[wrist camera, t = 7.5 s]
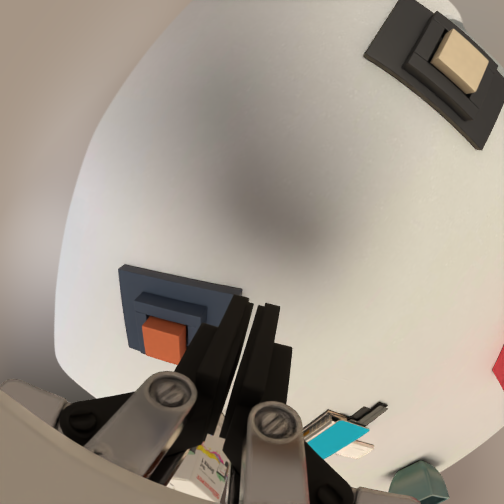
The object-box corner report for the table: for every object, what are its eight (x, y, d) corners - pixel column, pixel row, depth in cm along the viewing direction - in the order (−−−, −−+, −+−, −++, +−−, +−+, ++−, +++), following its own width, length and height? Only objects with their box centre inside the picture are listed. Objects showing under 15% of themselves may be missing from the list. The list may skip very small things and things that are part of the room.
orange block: (153, 344, 26) (145, 355, 25) (150, 315, 25) (141, 325, 23) (186, 354, 26) (180, 366, 24) (186, 324, 24) (179, 336, 23)
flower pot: (382, 473, 35) (384, 514, 26) (424, 452, 31) (432, 495, 23) (404, 480, 35) (407, 516, 27) (443, 460, 32) (450, 498, 24)
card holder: (322, 473, 36) (322, 481, 34) (261, 455, 35) (260, 464, 34) (416, 415, 28) (418, 424, 26) (351, 390, 28) (352, 401, 26)
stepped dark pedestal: (362, 56, 16) (369, 46, 14) (401, -4, 13) (409, -16, 11) (476, 150, 17) (492, 152, 15) (505, 86, 14) (521, 84, 11)
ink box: (239, 439, 34) (220, 508, 24) (208, 438, 36) (185, 502, 25) (218, 403, 32) (189, 482, 21) (184, 403, 33) (150, 474, 22)
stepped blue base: (133, 341, 30) (121, 357, 28) (124, 264, 27) (107, 277, 24) (233, 368, 29) (226, 388, 26) (242, 289, 25) (234, 307, 22)
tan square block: (429, 62, 14) (438, 58, 12) (445, 33, 12) (453, 28, 11) (465, 94, 14) (475, 92, 13) (479, 64, 13) (489, 61, 11)
